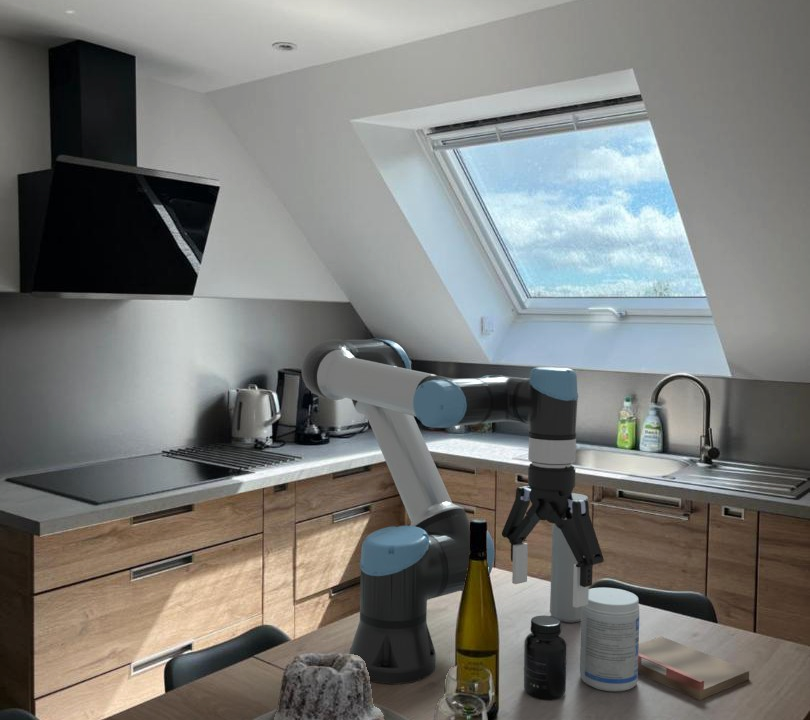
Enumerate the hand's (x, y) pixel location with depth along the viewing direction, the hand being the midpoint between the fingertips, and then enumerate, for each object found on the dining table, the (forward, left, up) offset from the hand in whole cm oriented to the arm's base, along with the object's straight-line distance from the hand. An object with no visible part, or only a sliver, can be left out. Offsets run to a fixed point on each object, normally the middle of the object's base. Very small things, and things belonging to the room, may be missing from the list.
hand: (548, 593), depth 136 cm
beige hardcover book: (+7, +26, -16) cm, 31 cm away
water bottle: (-22, +29, -17) cm, 40 cm away
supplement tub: (+3, +12, -17) cm, 21 cm away
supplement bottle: (0, 0, -17) cm, 17 cm away
